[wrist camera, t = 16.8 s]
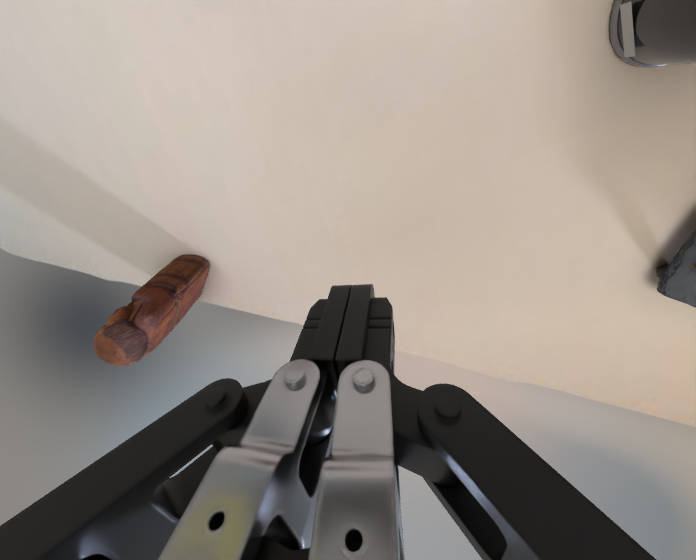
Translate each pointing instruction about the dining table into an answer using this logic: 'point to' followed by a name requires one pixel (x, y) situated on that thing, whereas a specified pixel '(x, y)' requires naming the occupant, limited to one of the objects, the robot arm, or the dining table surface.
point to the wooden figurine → (152, 312)
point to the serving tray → (680, 274)
